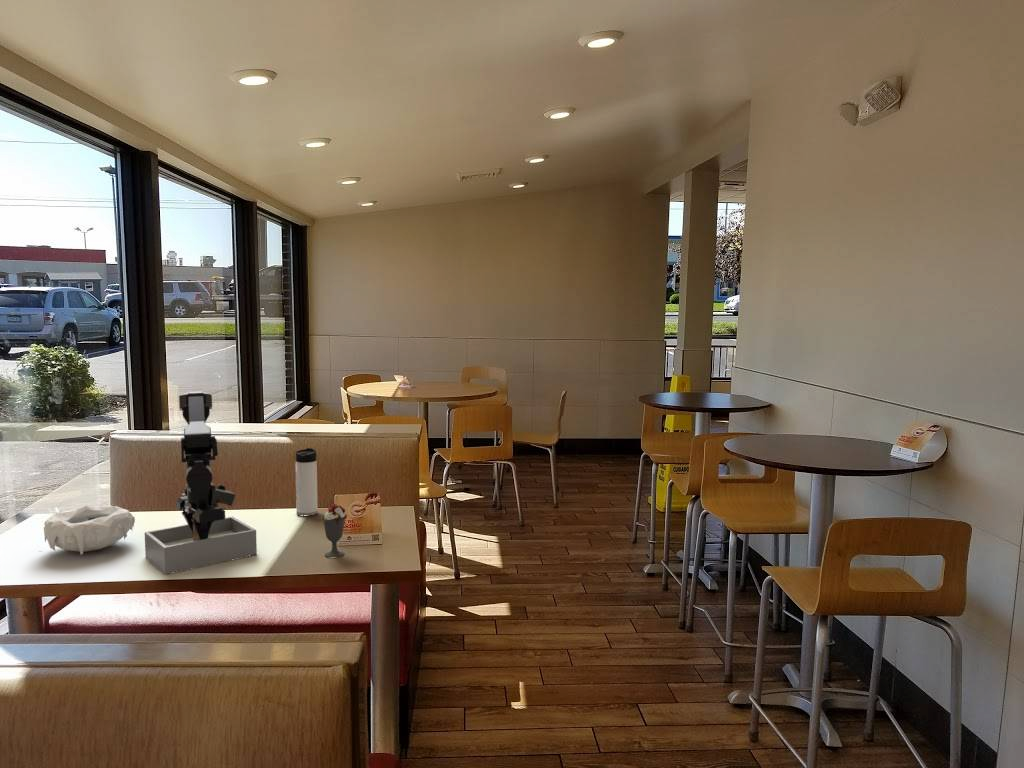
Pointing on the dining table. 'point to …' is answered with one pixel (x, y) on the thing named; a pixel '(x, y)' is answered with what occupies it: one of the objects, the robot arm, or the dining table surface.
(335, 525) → the sundae
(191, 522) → the robot arm
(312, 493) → the travel mug
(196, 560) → the box
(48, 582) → the dining table surface
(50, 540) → the bowl
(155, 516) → the dining table surface
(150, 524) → the dining table surface
